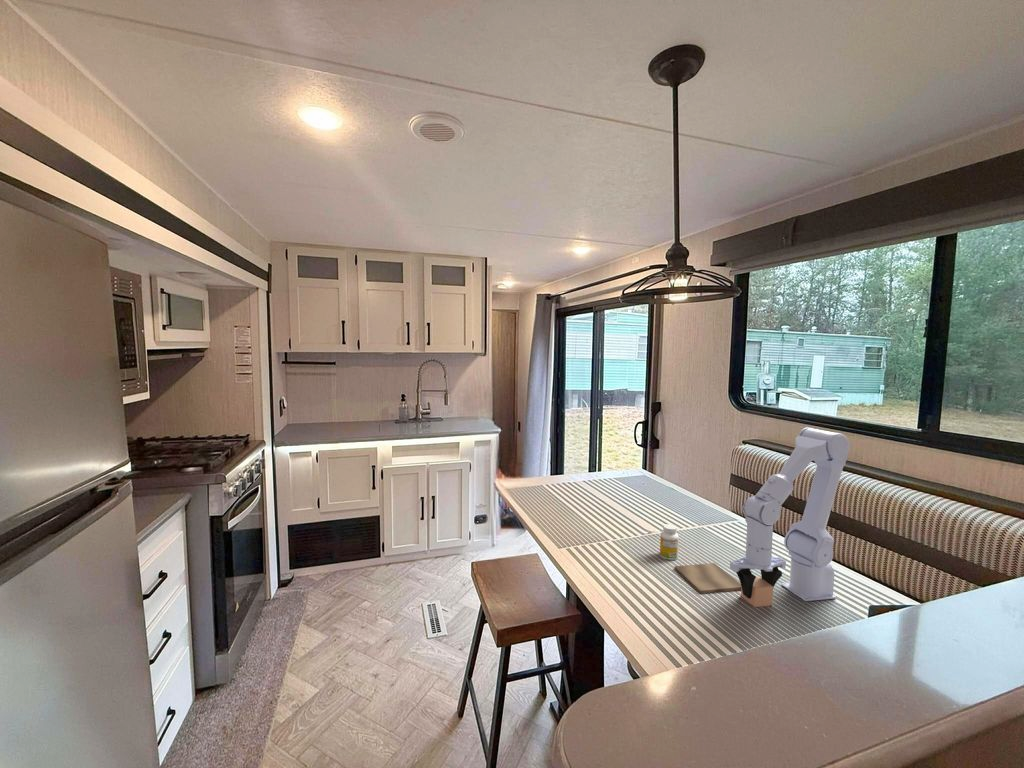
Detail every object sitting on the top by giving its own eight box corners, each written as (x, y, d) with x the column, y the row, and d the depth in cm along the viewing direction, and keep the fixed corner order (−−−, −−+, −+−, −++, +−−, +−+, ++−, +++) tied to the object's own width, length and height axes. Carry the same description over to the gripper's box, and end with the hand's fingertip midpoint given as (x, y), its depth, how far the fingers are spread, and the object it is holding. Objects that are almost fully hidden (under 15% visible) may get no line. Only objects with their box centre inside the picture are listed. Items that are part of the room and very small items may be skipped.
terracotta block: (757, 594, 111) (758, 576, 110) (772, 605, 106) (773, 586, 106) (740, 595, 110) (741, 577, 110) (754, 607, 105) (755, 588, 105)
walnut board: (714, 565, 126) (714, 563, 126) (744, 589, 113) (744, 586, 113) (674, 568, 124) (674, 566, 124) (700, 593, 111) (700, 590, 111)
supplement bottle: (663, 550, 135) (664, 521, 135) (680, 555, 132) (681, 526, 131) (657, 556, 131) (658, 526, 130) (674, 562, 128) (675, 531, 127)
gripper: (744, 553, 102) (742, 606, 103) (796, 549, 104) (793, 601, 105) (725, 541, 109) (723, 590, 110) (774, 537, 111) (772, 586, 112)
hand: (756, 595), depth 108 cm, fingers closed on terracotta block, 5 cm apart
